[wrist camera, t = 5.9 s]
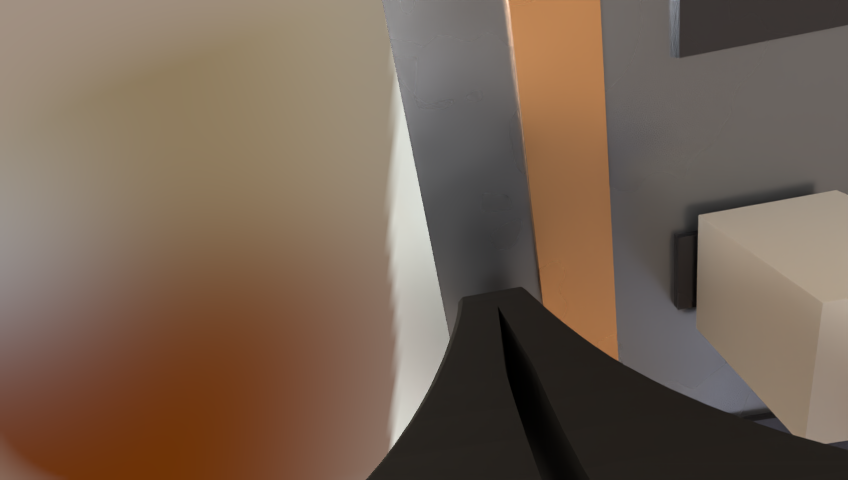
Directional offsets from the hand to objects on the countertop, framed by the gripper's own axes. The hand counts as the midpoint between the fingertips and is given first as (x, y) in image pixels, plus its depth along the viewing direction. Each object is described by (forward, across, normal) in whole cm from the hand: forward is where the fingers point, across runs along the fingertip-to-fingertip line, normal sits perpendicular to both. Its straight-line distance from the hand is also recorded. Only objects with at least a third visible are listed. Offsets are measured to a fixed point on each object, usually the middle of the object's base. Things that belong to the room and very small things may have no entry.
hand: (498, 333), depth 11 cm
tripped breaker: (+1, -6, 0) cm, 6 cm away
